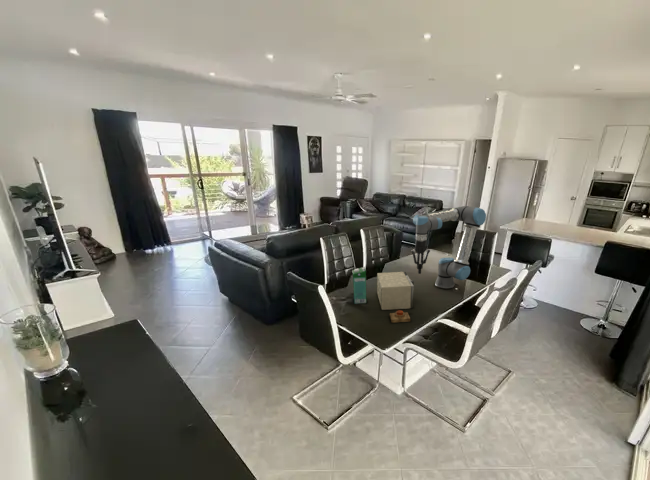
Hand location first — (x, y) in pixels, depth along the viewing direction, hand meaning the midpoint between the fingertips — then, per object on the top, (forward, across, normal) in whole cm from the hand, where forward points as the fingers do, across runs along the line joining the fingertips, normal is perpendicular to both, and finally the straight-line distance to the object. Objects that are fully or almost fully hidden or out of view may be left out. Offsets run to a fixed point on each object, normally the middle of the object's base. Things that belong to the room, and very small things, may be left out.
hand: (419, 273), depth 223 cm
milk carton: (+24, -41, +9) cm, 48 cm away
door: (+23, -4, +2) cm, 23 cm away
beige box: (+23, -16, +6) cm, 29 cm away
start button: (+20, -17, -22) cm, 34 cm away
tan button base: (+23, -17, -22) cm, 36 cm away
